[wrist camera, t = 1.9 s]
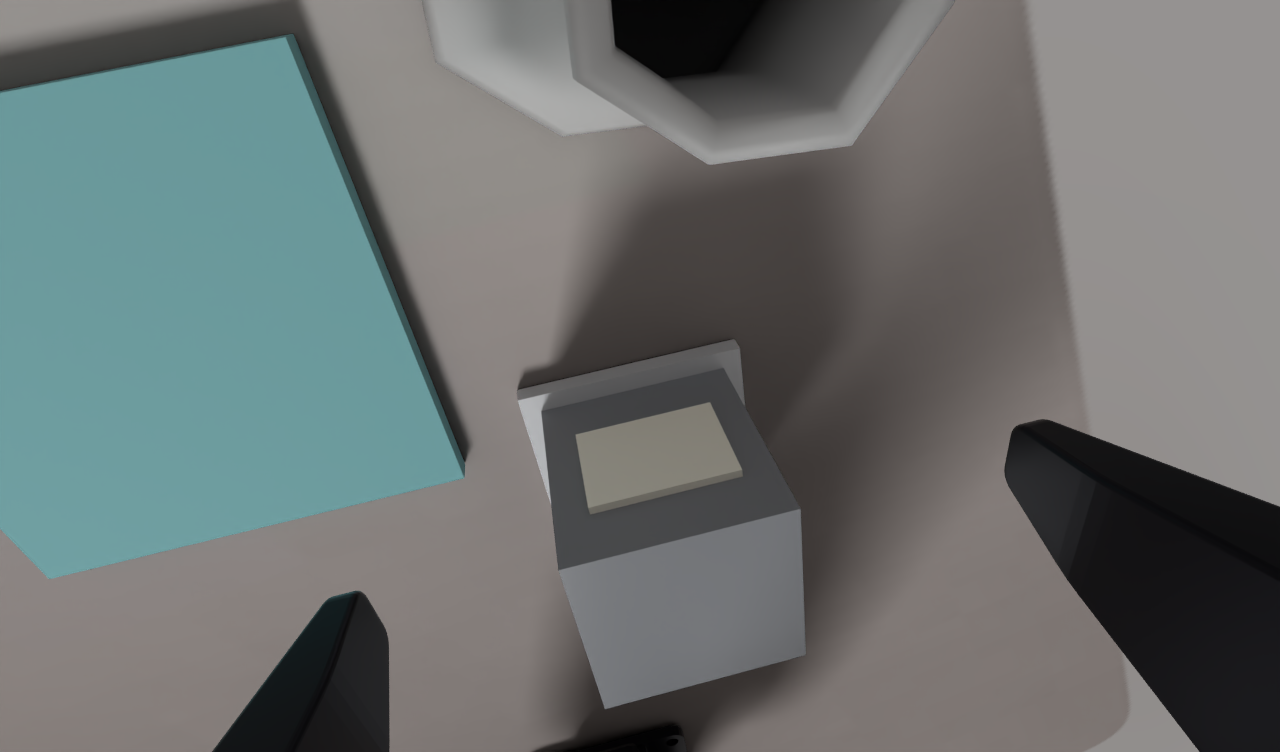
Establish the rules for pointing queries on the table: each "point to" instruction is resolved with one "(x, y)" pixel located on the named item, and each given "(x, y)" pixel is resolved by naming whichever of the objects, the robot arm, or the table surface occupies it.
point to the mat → (194, 314)
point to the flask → (689, 65)
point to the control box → (668, 522)
